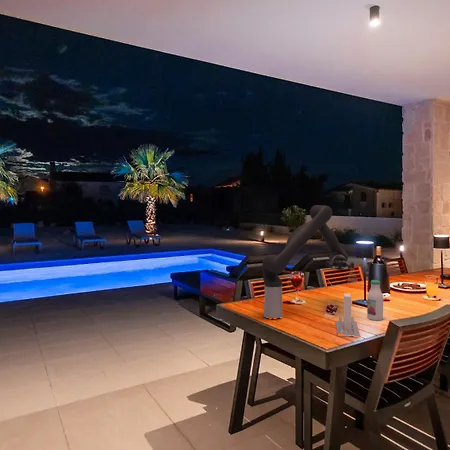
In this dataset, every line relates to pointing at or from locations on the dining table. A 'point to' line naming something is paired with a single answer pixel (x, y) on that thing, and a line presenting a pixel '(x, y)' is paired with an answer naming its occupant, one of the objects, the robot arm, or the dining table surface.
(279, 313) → the robot arm
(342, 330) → the door track
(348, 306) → the grey rectangular block
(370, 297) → the milk bottle
